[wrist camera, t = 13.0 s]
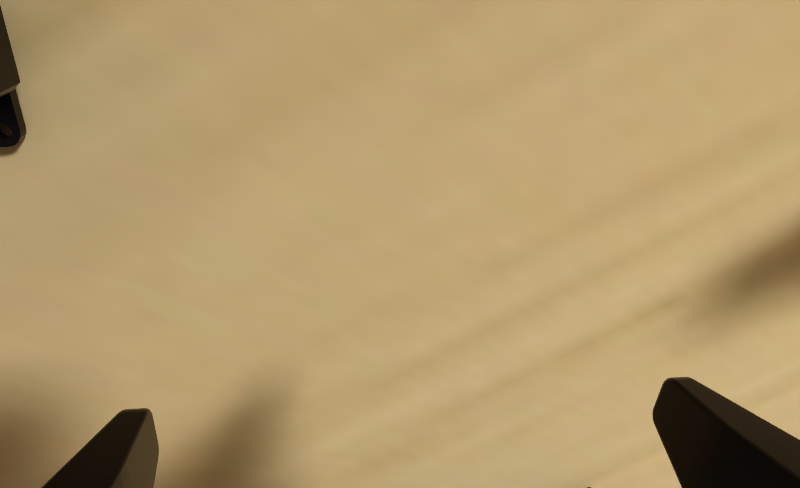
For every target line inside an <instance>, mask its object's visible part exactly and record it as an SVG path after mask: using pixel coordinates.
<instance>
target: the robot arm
mask: <svg viewBox="0 0 800 488" xmlns="http://www.w3.org/2000/svg"><path fill="white" fill-rule="evenodd" d="M19 83H20V79H19V75H18V71H17V67H16V64H15V60H14V56H13V52H12V48H11V45H10V41H9V37H8V33H7V30H6V26H5V22H4V18H3V14H2V11H1V7H0V123H2V124H6V125H7V126H8V127H9V128H10V129H11V131H12V135H7V134H5V133H3V132H2V131H1V129H0V147H9V146H14V145H15V144H17V143H18V142H19V141H21V140H22V139H24V137H25V135H26V126H25V122H24V119H23V115H22V111H21V108H20V104H19V100H18V97H17V93H16V89H15V87H16V86H17V85H18V84H19ZM653 421H654V424H655V427H656V429H657V431H658V434H659V436H660V438H661V441H662V443H663V445H664V447H665V450H666V452H667V454H668V457H669V459H670V461H671V464H672V466H673V468H674V470H675V473H676V475H677V477H678V480H679V482H680V484H681V487H682V488H800V440H799V439H797V438H795V437H793V436H792V435H790V434H788V433H786V432H785V431H783V430H781V429H779V428H778V427H776V426H774V425H772V424H771V423H769V422H767V421H765V420H764V419H762V418H760V417H758V416H757V415H755V414H753V413H751V412H750V411H748V410H746V409H744V408H743V407H741V406H739V405H737V404H736V403H734V402H732V401H730V400H729V399H727V398H725V397H723V396H722V395H720V394H718V393H716V392H715V391H713V390H711V389H709V388H708V387H706V386H704V385H702V384H701V383H699V382H697V381H695V380H694V379H692V378H689V377H675V378H668V379H666V380H665V381H664V383H663V385H662V387H661V390H660V393H659V395H658V398H657V400H656V403H655V406H654V408H653ZM158 454H159V446H158V440H157V435H156V430H155V425H154V420H153V416H152V413H151V411H150V410H149V409H147V408H140V409H125V410H122V411H121V412H119V413H118V414H117V415H116V416H115V417H114V418H113V419H112V420H111V421H110V422H109V423H108V424H107V425H106V426H105V427H103V428H102V429H101V430H100V431H99V432H98V433H97V434H96V435H95V436H94V437H93V438H92V439H91V440H90V441H89V442H88V443H87V444H86V445H85V446H84V447H83V448H82V449H81V450H80V451H79V452H78V453H77V454H76V455H75V456H74V457H73V458H72V459H70V460H69V461H68V462H67V463H66V464H65V465H64V466H63V467H62V468H61V469H60V470H59V471H58V472H57V473H56V474H55V475H54V476H53V477H52V478H51V479H50V480H49V481H48V482H47V483H46V484H45V485H44V486H43V487H42V488H153V485H154V480H155V474H156V468H157V462H158Z"/></svg>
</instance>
